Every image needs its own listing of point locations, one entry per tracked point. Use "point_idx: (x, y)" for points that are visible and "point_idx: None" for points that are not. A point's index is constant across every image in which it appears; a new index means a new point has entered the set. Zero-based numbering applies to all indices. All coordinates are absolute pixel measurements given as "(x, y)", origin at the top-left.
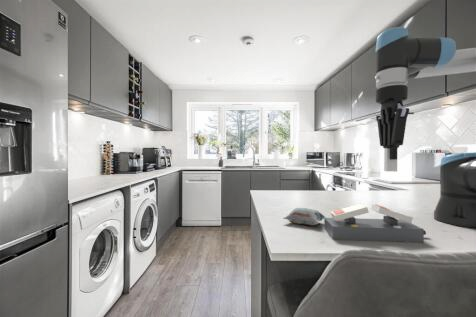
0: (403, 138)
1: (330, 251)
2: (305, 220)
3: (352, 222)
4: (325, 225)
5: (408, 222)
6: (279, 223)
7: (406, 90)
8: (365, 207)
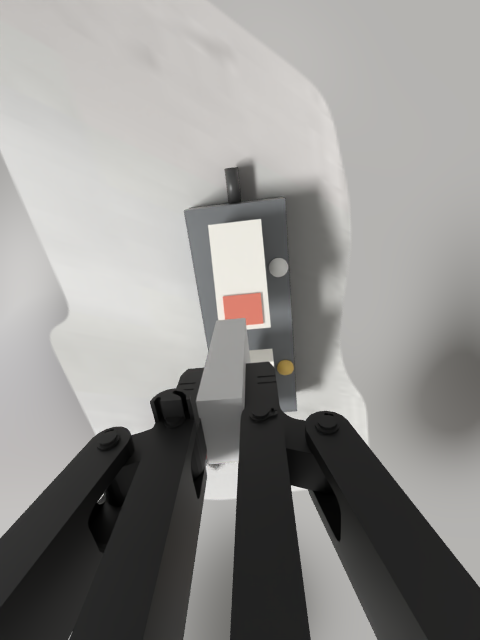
0: (377, 460)
1: (360, 405)
2: None
3: None
4: None
5: (217, 210)
6: None
7: None
8: (273, 364)
